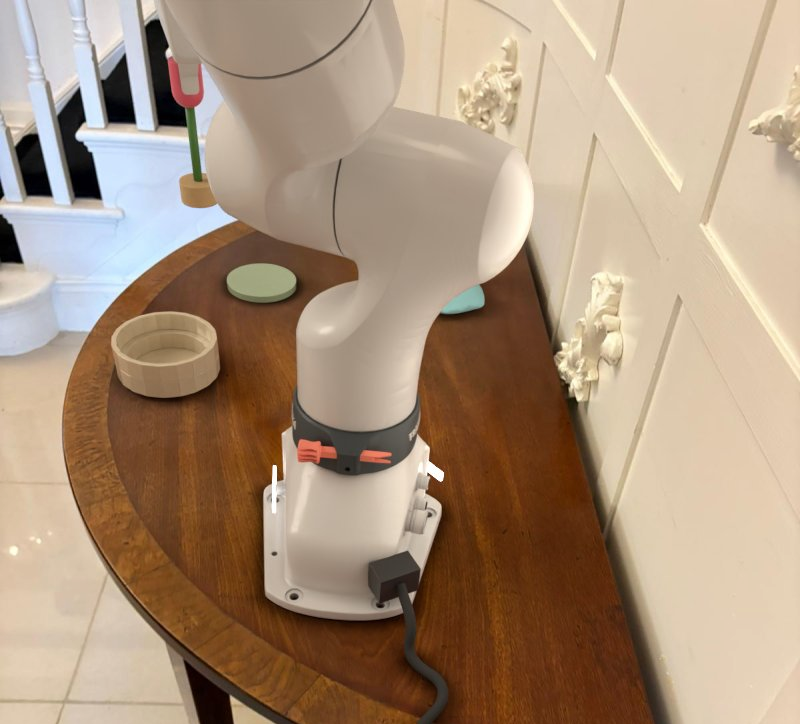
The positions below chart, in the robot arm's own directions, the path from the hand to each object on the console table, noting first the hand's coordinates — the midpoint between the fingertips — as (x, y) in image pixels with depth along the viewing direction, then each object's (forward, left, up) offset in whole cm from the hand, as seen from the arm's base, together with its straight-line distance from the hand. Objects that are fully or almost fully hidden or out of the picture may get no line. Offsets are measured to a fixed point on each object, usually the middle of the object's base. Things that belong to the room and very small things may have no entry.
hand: (187, 85), depth 85 cm
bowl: (-11, +3, -30) cm, 32 cm away
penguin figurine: (+18, -30, -30) cm, 46 cm away
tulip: (0, 0, -13) cm, 13 cm away
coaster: (+13, -4, -30) cm, 32 cm away
